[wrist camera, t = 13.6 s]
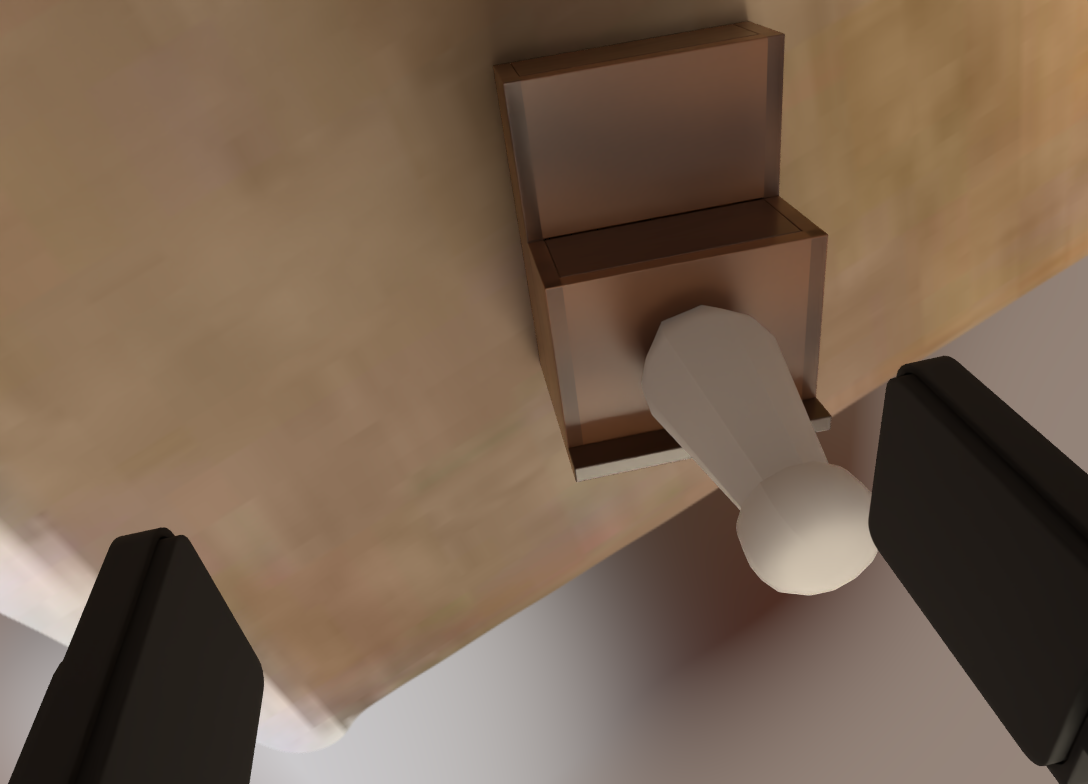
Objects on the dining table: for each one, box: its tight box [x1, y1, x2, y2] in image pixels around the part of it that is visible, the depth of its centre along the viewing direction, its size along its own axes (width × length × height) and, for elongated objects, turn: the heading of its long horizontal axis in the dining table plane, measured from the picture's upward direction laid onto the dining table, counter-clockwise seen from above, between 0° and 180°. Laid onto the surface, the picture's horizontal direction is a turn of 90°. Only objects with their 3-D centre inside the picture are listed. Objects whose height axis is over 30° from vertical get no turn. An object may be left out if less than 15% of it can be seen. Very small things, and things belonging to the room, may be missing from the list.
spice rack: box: [493, 21, 831, 482], centre depth 35 cm, size 16×12×11 cm
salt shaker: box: [641, 305, 878, 595], centre depth 29 cm, size 6×6×13 cm
